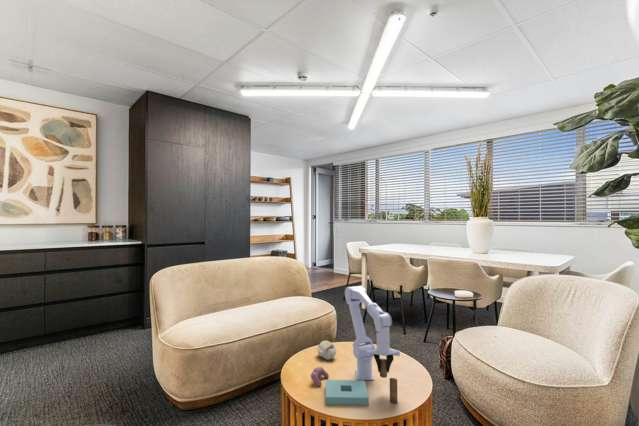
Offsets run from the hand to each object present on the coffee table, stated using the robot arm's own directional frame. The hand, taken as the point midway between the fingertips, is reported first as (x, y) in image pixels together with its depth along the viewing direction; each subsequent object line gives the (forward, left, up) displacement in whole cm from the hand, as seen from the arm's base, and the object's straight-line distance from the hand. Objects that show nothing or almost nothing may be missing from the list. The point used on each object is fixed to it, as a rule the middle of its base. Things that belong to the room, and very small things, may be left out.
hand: (383, 371), depth 135 cm
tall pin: (+7, +3, -9) cm, 12 cm away
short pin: (0, 0, -2) cm, 2 cm away
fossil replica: (-35, -26, -9) cm, 45 cm away
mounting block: (+3, -17, -9) cm, 20 cm away
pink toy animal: (-9, -29, -9) cm, 32 cm away
